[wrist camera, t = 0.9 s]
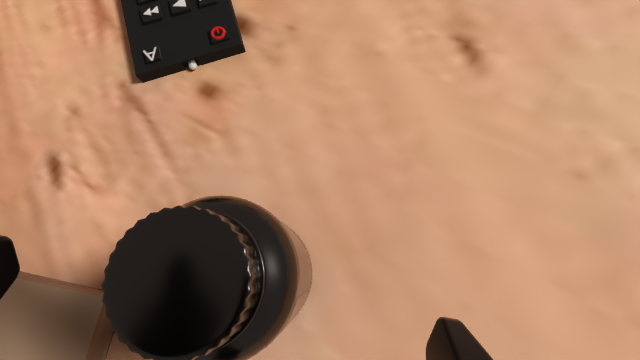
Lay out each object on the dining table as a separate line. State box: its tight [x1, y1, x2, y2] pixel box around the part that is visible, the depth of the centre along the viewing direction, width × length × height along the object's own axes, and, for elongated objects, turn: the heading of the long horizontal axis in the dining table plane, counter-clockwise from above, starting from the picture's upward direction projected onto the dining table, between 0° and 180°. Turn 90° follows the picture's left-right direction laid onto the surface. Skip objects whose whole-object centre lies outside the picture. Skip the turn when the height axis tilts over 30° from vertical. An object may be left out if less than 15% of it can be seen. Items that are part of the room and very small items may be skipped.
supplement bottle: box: [102, 196, 312, 360], centre depth 17 cm, size 7×7×12 cm
